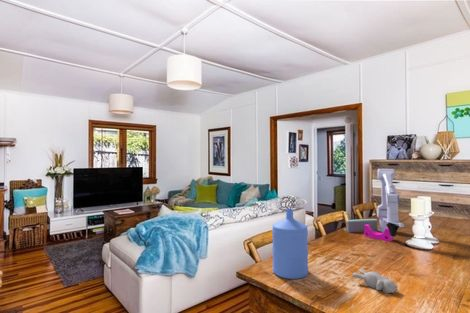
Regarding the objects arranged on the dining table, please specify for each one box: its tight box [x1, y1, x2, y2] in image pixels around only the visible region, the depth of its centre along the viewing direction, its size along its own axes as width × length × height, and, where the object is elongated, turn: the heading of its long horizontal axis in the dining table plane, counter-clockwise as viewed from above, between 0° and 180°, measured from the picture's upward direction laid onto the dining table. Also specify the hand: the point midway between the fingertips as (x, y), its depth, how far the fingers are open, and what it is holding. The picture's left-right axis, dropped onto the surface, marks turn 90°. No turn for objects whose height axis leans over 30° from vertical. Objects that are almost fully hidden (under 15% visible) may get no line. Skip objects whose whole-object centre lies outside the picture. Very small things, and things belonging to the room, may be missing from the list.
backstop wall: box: [343, 218, 379, 233], centre depth 188 cm, size 22×6×8 cm, turn 100°
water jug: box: [271, 208, 309, 280], centre depth 120 cm, size 16×16×28 cm
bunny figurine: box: [352, 268, 398, 294], centre depth 106 cm, size 10×5×15 cm
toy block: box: [363, 224, 394, 242], centre depth 170 cm, size 15×6×8 cm, turn 44°
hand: (392, 236), depth 161 cm, fingers closed
